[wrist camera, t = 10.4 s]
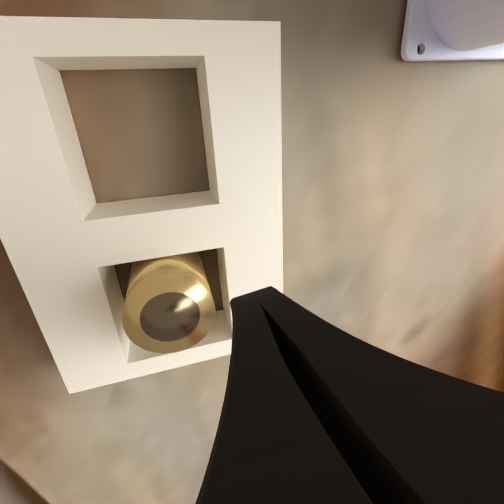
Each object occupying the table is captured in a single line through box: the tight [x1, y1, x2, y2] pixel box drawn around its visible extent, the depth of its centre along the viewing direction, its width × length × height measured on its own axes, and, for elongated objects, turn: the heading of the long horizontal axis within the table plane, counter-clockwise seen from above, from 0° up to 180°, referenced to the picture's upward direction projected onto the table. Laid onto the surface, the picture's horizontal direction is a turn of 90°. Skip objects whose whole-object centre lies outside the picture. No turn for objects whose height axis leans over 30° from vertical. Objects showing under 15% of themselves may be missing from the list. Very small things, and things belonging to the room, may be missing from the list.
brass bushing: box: [122, 251, 216, 353], centre depth 15 cm, size 4×4×5 cm
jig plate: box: [0, 16, 283, 394], centre depth 15 cm, size 12×16×3 cm
